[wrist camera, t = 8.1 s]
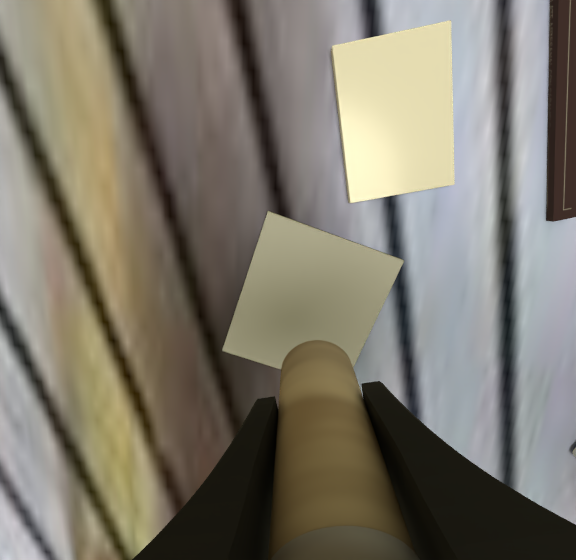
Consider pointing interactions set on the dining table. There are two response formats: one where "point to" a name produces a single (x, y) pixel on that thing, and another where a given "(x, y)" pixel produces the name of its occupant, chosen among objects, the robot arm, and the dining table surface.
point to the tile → (396, 111)
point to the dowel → (330, 467)
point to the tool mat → (308, 292)
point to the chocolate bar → (561, 112)
